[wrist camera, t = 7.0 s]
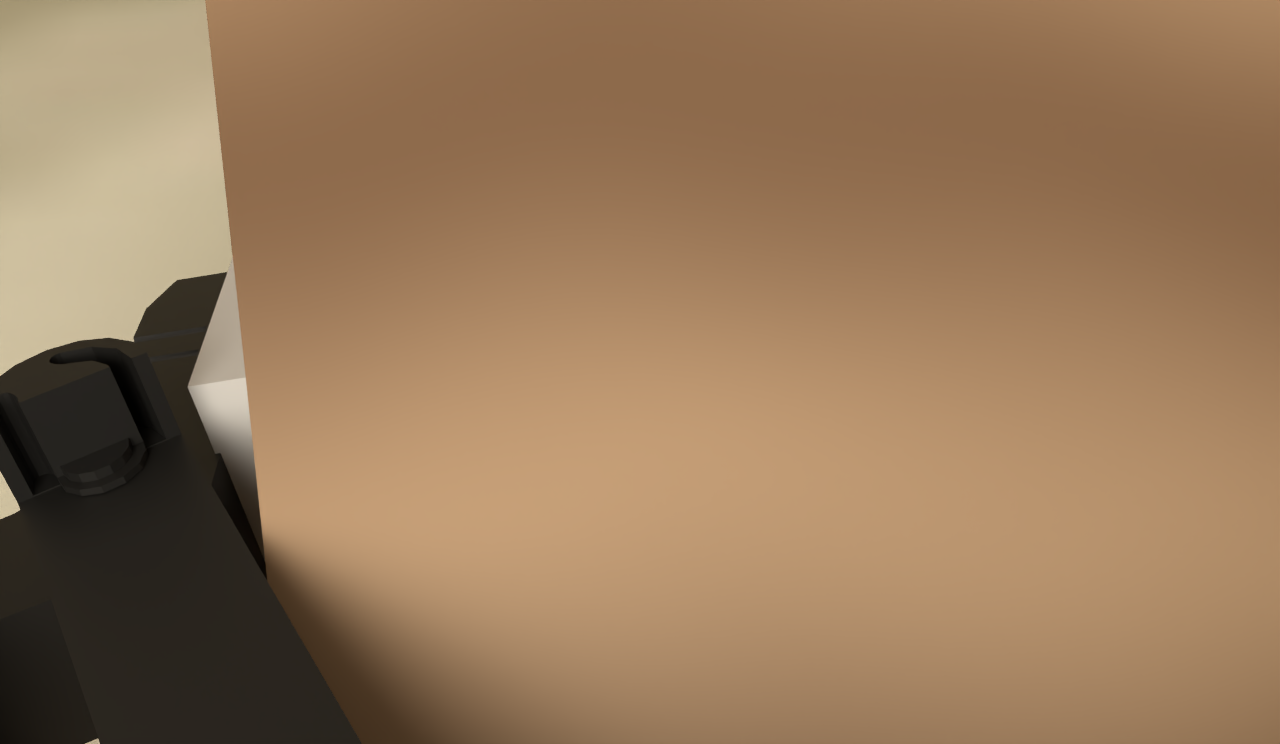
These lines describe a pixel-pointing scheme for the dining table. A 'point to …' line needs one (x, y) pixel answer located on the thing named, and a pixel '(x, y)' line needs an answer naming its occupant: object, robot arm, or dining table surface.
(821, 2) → the wooden block
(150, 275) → the dining table surface
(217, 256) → the dining table surface
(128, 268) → the dining table surface
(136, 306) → the dining table surface
